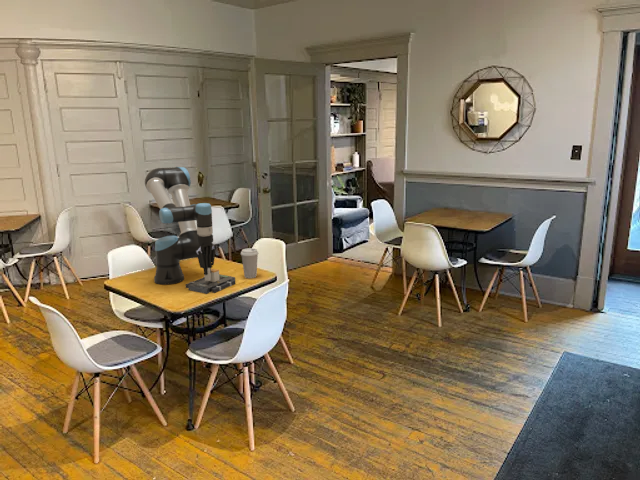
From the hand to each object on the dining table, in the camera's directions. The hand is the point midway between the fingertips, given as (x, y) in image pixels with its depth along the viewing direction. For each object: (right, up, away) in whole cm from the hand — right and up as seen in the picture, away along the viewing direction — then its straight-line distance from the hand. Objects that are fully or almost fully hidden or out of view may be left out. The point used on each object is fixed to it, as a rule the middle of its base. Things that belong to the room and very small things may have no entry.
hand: (207, 280), depth 246 cm
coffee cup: (+19, 0, +19) cm, 27 cm away
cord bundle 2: (+8, -4, 0) cm, 9 cm away
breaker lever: (+2, 0, +4) cm, 4 cm away
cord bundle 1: (-5, -2, +7) cm, 9 cm away
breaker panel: (+2, -3, +4) cm, 5 cm away
